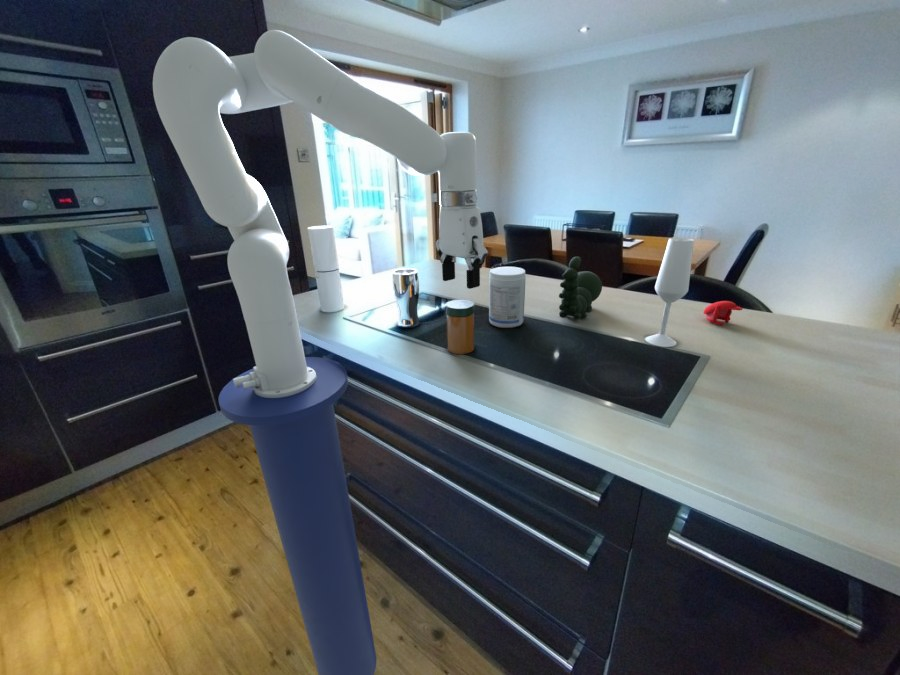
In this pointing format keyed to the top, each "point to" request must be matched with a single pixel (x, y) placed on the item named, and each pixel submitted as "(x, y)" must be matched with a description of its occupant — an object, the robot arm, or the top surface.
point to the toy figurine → (578, 291)
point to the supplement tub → (506, 296)
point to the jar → (460, 334)
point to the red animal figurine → (720, 311)
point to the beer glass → (406, 296)
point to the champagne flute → (672, 282)
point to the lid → (460, 308)
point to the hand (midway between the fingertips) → (460, 283)
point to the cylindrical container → (326, 268)
